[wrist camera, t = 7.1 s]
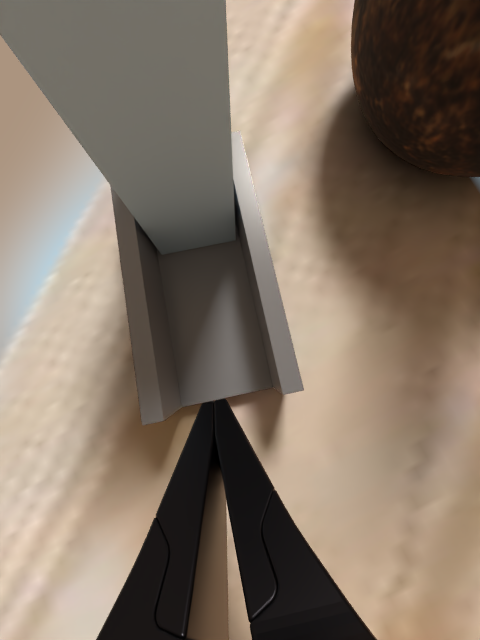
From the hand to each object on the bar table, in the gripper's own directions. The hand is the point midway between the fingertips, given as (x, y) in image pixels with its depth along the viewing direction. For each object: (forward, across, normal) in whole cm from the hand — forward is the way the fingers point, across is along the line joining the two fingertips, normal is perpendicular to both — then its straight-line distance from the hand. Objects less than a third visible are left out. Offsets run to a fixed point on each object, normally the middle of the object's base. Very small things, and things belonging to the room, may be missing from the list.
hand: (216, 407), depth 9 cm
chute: (+10, 0, 0) cm, 10 cm away
